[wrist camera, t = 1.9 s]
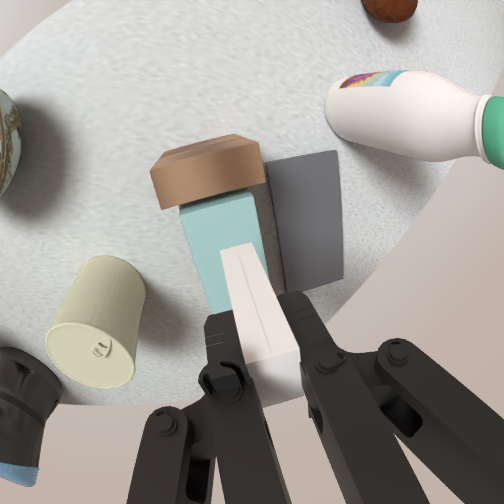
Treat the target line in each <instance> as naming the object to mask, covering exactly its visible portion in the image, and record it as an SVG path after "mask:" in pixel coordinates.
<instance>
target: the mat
mask: <svg viewBox="0 0 504 504" xmlns="http://www.w3.org/2000/svg"><path fill="white" fill-rule="evenodd" d="M265 164H266V170H267V175H268V181H269V187H270V192H271V198H272V204H273V210H274V216H275V222H276V228H277V234H278V241H279V247H280V253H281V260H282V267H283V273H284V280H285V287H286V293H290V292H293V291H297V290H298V291H300V292H303V291H306V290H309V289H312V288H315V287H318V286H322V285H325V284H328V283H331V282H334V281H337V280H340V279H343V229H342V207H341V191H340V178H339V166H338V156H337V151H336V150H332V151H325V152H319V153H313V154H308V155H302V156H296V157H291V158H286V159H281V160H276V161H271V162H266V163H265Z"/></svg>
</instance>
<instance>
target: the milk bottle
mask: <svg viewBox="0 0 504 504" xmlns="http://www.w3.org/2000/svg"><path fill="white" fill-rule="evenodd" d="M324 109H325V115H326V118H327V121H328V123H329V125H330V126H331V128H332V129H333V131H334V132H335V133H336V134H337V135H338V136H340V137H341V138H343V139H345V140H347V141H350V142H354V143H358V144H362V145H366V146H369V147H373V148H377V149H381V150H384V151H388V152H392V153H395V154H399V155H402V156H406V157H410V158H413V159H417V160H422V161H428V162H442V161H448V160H452V159H456V158H460V157H465V156H478V157H481V158H482V159H483V161H485V162H486V163H488V164H493V165H494V166H496V167H498V168H500V169H503V170H504V97H499V96H494V97H493V96H491V95H488V94H487V95H484V96H482V97H479V96H476V95H474V94H472V93H470V92H468V91H466V90H464V89H462V88H460V87H459V86H457V85H456V84H454V83H453V82H451V81H449V80H447V79H446V78H444V77H442V76H439V75H437V74H433V73H430V72H425V71H412V70H402V71H386V72H376V73H367V74H360V75H353V76H348V77H344V78H341V79H339V80H337V81H336V82H334V83H333V84H332V85H331V87H330V88H329V90H328V92H327V94H326V97H325V104H324Z"/></svg>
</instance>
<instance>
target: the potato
mask: <svg viewBox="0 0 504 504" xmlns="http://www.w3.org/2000/svg"><path fill="white" fill-rule="evenodd" d="M362 1H363V4H364V6H365V7H366V9H367V10H368V12H370V13H371V14H372V15H373V16H374V17H375V18H377V19H379V20H381V21H383V22H390V23H399V22H403V21H406V20H408V19H409V18H410V17H411V16H412V15H413V14H414V12H415V10H416V8H417V3H418V0H362Z"/></svg>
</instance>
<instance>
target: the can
mask: <svg viewBox="0 0 504 504" xmlns="http://www.w3.org/2000/svg"><path fill="white" fill-rule="evenodd" d="M145 299H146V288H145V285H144V282H143V280H142V278H141V276H140V275H139V273H138V272H137V271H136V270H135V269H134V268H133V267H132V266H131V265H130V264H128V263H127V262H125V261H123V260H121V259H118V258H116V257H111V256H98V257H94V258H91V259H89V260H88V261H86V262H85V263H84V264H83V265H82V266H81V267H80V269H79V271H78V273H77V276H76V279H75V280H74V282H73V284H72V286H71V288H70V290H69V292H68V294H67V296H66V298H65V300H64V302H63V303H62V305H61V307H60V309H59V311H58V313H57V315H56V317H55V319H54V321H53V323H52V325H51V327H50V329H49V331H48V332H47V334H46V337H45V347H46V351H47V354H48V356H49V357H50V359H51V361H52V362H53V363H54V365H55V366H56V367H57V368H58V369H59V370H60V371H61V372H63V373H64V374H65V375H67V376H68V377H70V378H71V379H73V380H75V381H77V382H79V383H81V384H84V385H87V386H90V387H95V388H101V389H111V388H117V387H121V386H123V385H125V384H127V383H128V382H129V381H130V380H131V379H132V378H133V376H134V373H135V358H136V348H137V340H138V333H139V325H140V319H141V313H142V308H143V305H144V302H145Z"/></svg>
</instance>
